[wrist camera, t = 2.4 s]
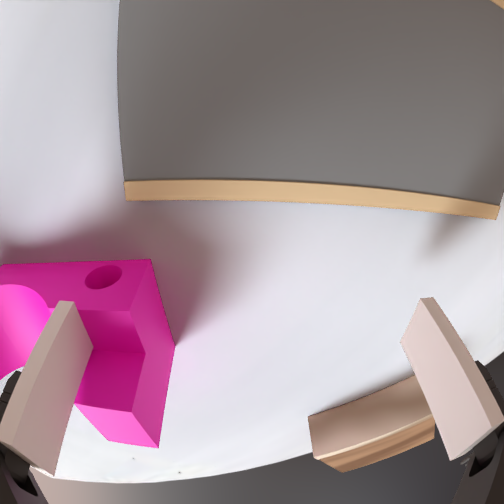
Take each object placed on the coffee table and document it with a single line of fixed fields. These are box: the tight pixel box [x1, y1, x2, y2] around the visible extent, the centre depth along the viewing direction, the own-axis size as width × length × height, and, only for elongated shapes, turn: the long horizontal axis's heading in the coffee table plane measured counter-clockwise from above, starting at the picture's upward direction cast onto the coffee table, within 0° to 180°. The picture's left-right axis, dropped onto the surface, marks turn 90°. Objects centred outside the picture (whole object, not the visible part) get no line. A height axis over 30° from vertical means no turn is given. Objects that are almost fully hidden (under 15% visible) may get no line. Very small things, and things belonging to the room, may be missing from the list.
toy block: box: [0, 259, 175, 448], centre depth 13 cm, size 15×6×8 cm, turn 92°
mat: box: [117, 0, 504, 220], centre depth 9 cm, size 18×12×1 cm, turn 88°
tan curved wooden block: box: [308, 375, 435, 472], centre depth 22 cm, size 4×10×9 cm
